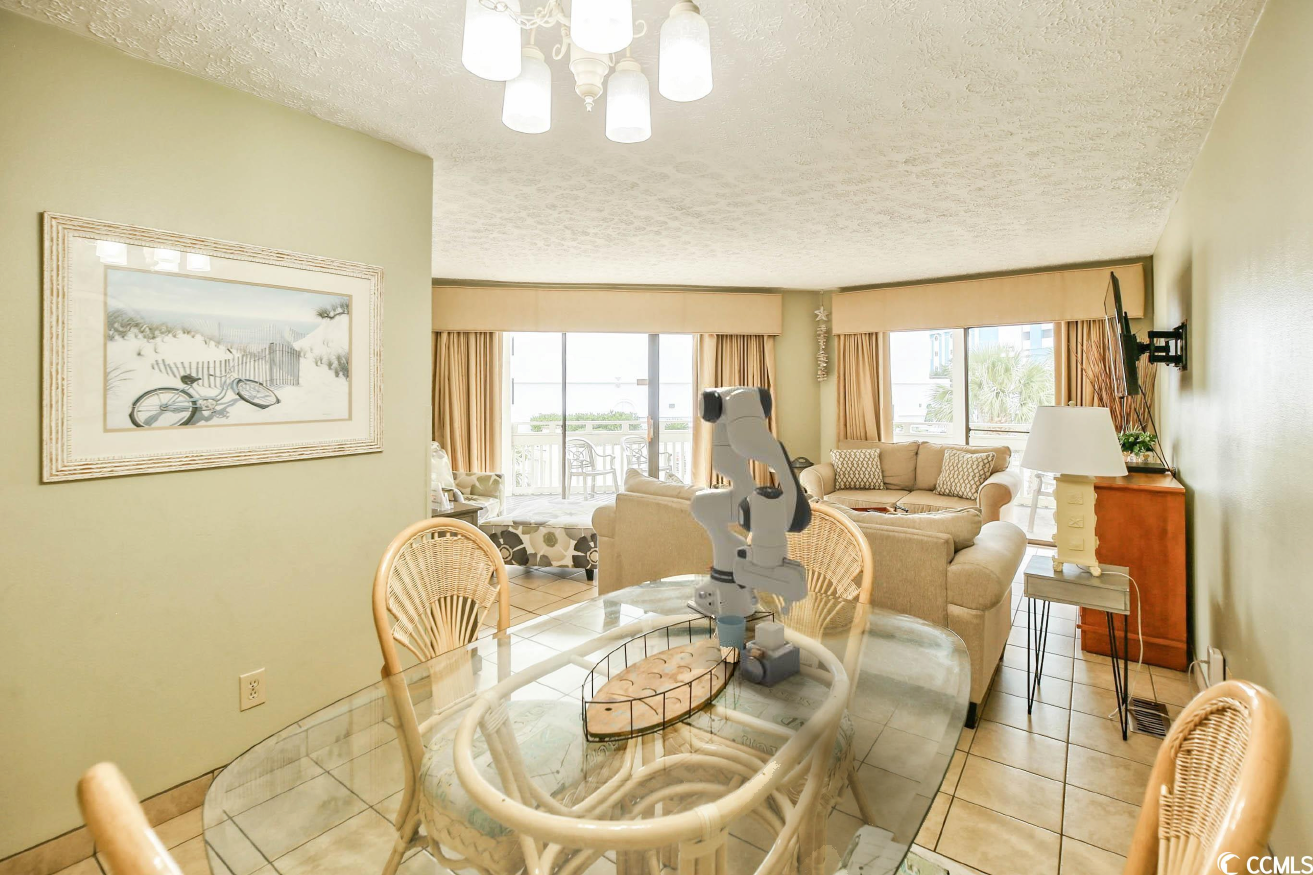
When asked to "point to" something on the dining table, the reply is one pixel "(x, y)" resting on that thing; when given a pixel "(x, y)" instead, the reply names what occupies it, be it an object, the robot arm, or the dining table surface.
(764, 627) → the pump block
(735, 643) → the cup
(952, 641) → the dining table surface
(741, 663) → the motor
